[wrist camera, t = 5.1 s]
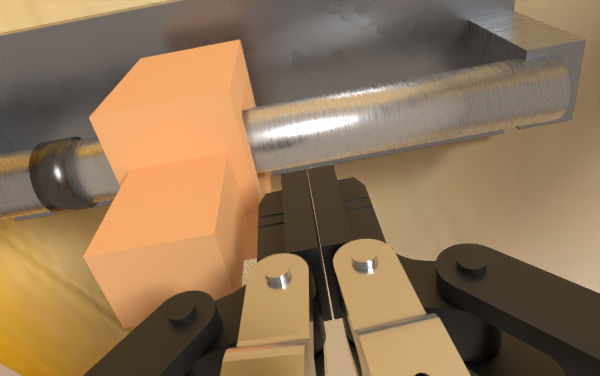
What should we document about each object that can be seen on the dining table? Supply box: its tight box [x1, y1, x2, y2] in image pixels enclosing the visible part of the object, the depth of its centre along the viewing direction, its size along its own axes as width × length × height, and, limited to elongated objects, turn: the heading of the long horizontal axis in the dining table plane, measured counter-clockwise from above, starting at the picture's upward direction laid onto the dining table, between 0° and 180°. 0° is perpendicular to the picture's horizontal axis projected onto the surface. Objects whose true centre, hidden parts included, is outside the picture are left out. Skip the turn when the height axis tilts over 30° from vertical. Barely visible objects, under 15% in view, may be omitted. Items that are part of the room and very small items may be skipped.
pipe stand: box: [0, 0, 585, 221], centre depth 18 cm, size 26×9×7 cm, turn 100°
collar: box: [83, 39, 271, 328], centre depth 15 cm, size 4×6×10 cm, turn 10°
